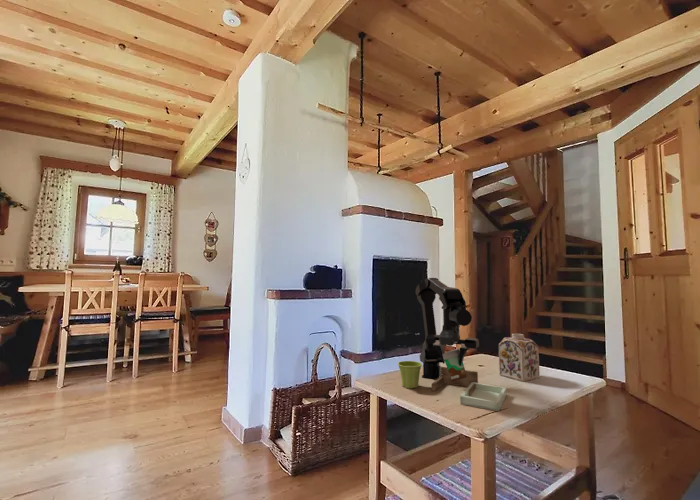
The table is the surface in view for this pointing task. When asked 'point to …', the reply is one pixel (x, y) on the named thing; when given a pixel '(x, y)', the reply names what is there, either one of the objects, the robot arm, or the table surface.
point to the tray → (484, 396)
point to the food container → (454, 365)
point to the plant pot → (410, 373)
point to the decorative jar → (519, 358)
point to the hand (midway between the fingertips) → (452, 364)
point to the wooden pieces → (466, 381)
